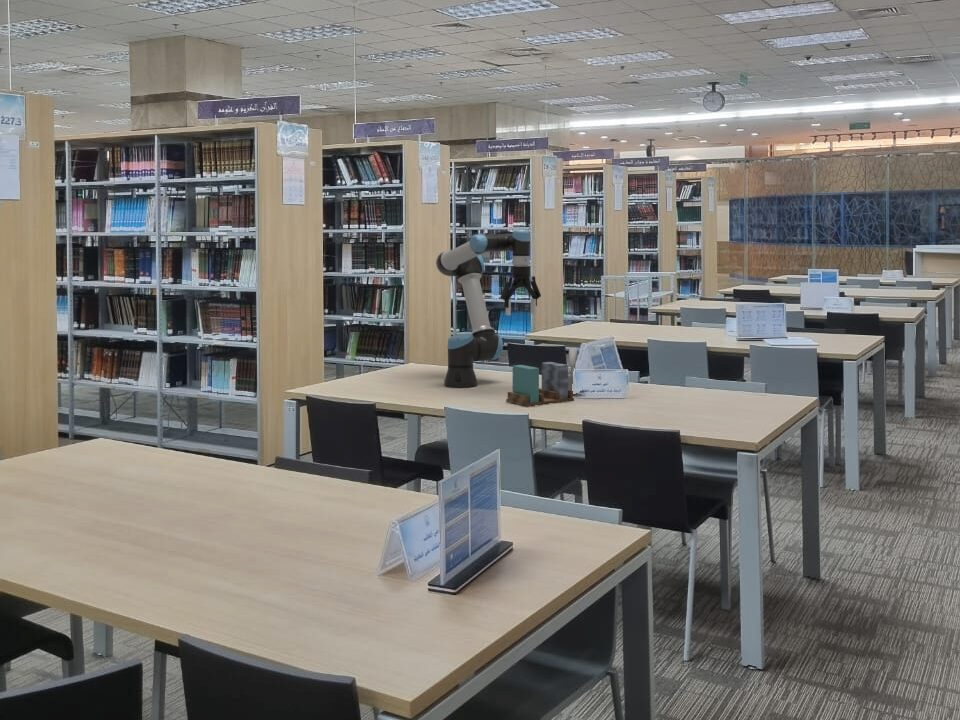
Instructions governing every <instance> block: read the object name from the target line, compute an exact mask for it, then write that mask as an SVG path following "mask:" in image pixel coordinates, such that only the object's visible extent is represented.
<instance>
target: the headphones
mask: <svg viewBox="0 0 960 720" xmlns="http://www.w3.org/2000/svg"><path fill="white" fill-rule="evenodd" d="M578 352H579V350H578V348H576V347H571V348H569V350H568V363H569V366H570V370H568V390H572V384H573V371H574V368H575V369H576V362H577V360H578V354H579V353H578Z"/></svg>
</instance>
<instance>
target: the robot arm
mask: <svg viewBox="0 0 960 720" xmlns="http://www.w3.org/2000/svg"><path fill="white" fill-rule="evenodd" d="M487 252H488V253H490V252H492V253H493V252H512V260H511V262H512V269H511V270H512V271H511V272H512V277H510V276H507V277H506V281H505V284H504V287H503V290H502V292H501V295H500V299H501V300H503V302H504V304H503V306H504V308H505V316H509V317H510V316H511V315H512V313H511V311H512V307H511V305H512V300H510V299H511V297H512V296H513V294H514V293H515V291H516V290H517V289H518V288H525V289H526V291H527V292H528V294H529V295H530V297H531V298H530V314H533V315H536V314H537V311H536V310H537V306H538V300H539V299H540V298H541V297H542V294H541V292H540V289H539V287H538V285H537V282H536V276H533V275H532V276H531V275H530V274H531V267H530V266H529V265H531V254H530V253H531V232H530V231H529V230H528V229H513V230H512V234H511V233H510V234H509V233H502V234H501V233H500V234H495V233H494V234H493V233H492V234H490V233H489V234H485V233H484V234H483V233H478V234H473V235H472V236H471V237H470V239H469V240H468V241H467V242H465V243H463V244H461V245H460V246H459V245H458V246H457V247H455V248H453V249H446V250H445V251H442V252H440V253H439V254H438V256H437V258H436V263H435V264H436V268H437V270H438V271H439V272H440V274H442V275H444V276H446V277H456V279H457V282H458V283H459V284H461V287H462V289H463V290H462V291H463V294H464V299H465V304H466V308H467V312H468V317H469V321H470V325H471V329H472V332H471V333H459V334H454V335H450V337H448V340H447V346H446V347H447V370H446V373H445V376H444V377H445V378H444V381H443V382H444V383H443V384H444V386H445V387H447V388H448V387H449V388H460V389H462V388H464V389H465V388H472V387H477V386H478V379H477V375H476V373H475V370H474V363H475V362H482V361H485V362H486V361H488V362H489V361H490V362H491V361H494V360H498V359H499V358H500V357H501V356H502V352H503V349H504V342H503V338H502V336H501V335H500V334H496V330H495V328H493V327H491V322H490V319H489V314H488V311H487V306H486V302H485V297H484V294H483V289H482V286H481V281H480V280H481V279H482V275H483V273H484V270H485V262H484V259H483V257H482V255H483V254H484V253H487Z"/></svg>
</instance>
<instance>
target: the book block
mask: <svg viewBox="0 0 960 720" xmlns="http://www.w3.org/2000/svg"><path fill="white" fill-rule="evenodd" d="M539 388H540V368H539V367H536V366H529V365H524V364H518V365H517V364H516V365H512V393H517V394H521V395H526V396H529V403H535V402H539Z"/></svg>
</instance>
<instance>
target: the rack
mask: <svg viewBox="0 0 960 720" xmlns="http://www.w3.org/2000/svg"><path fill="white" fill-rule="evenodd" d="M568 372H569V365H568V364H564V363H560V362H553V361H545V362H541V388H540V387H539V402H535V403H529V396H526V395H521V394H517V393H513V391H507V398H506V400H505V401H506V403H508V404H511V405H512V404H513V405H516V406H521V407H524V406H525V408H529V406H531V407H536V406H535V405H538V406H544V405H543V404H546V405H550V404H549V403H553V404H558V402H560V403H566V402H574V401H575V397H573V396H574V394H573V391H572V390H568Z"/></svg>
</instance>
